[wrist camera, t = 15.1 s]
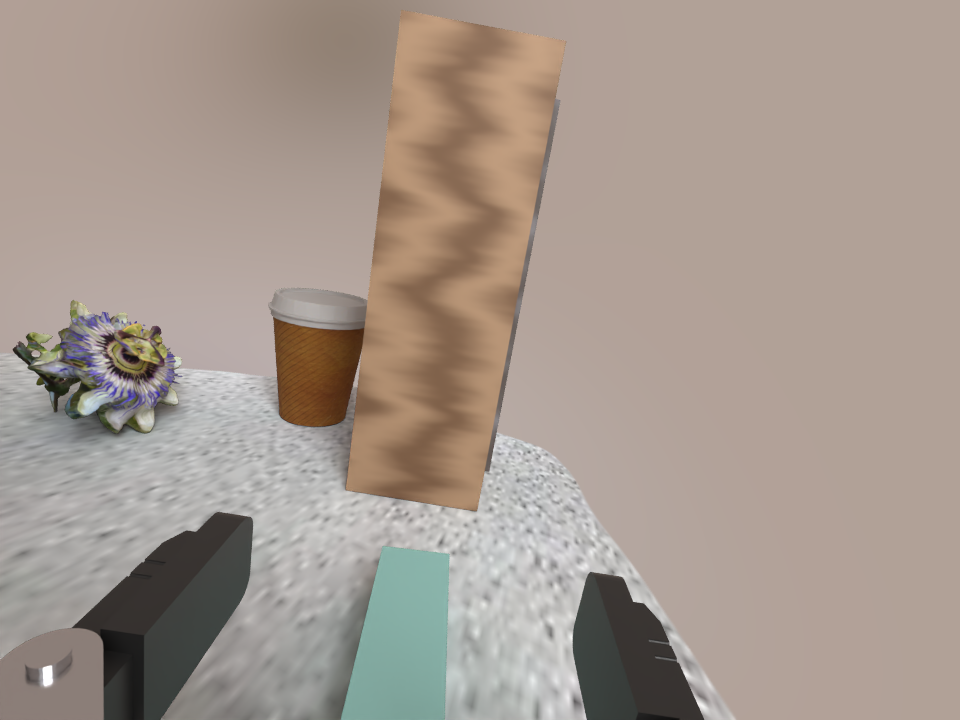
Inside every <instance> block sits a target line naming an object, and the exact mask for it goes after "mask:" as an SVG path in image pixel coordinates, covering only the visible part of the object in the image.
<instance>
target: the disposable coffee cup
mask: <svg viewBox="0 0 960 720" xmlns="http://www.w3.org/2000/svg"><path fill="white" fill-rule="evenodd" d="M367 302H368V300H366V299H363V298H360V297H357V296H354V295H349V294H345V293H339V292H333V291H328V290H318V289H307V288H283V289H279V290H276V291H275V294H274V297H273V300H272V302H270V303H269V305H268V306H269V308H270V310H271V314H272V316H273V319H274V332H275V333H274V334H275V352H276V366H277V381H278V397H279V414H280V416H281V417H282V418H283V419H284V420H286V421H288V422H290V423H293V424H297V425H302V426H312V427H319V426H329V425H333V424H337V423H339V422H341V421H342V420H344V418H345V415H346V411H347V407H348V402H349V399H350V394H351V390H352V387H353V382H354V378H355V374H356V370H357V366H358V362H359V359H360V354H361V350H362V345H363V337H364V328H365V319H366V311H367Z"/></svg>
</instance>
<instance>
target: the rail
mask: <svg viewBox="0 0 960 720" xmlns="http://www.w3.org/2000/svg"><path fill="white" fill-rule="evenodd" d="M448 586H449V554H445V553H437V552H429V551H420V550H412V549H404V548H395V547H387V546H383V547H382V552H381V556H380V560H379V564H378V568H377V572H376V576H375V580H374V585H373V589H372V593H371V597H370V601H369V605H368V609H367V613H366V617H365V622H364V626H363V630H362V634H361V638H360V642H359V646H358V650H357V655H356V659H355V663H354V667H353V671H352V675H351V679H350V683H349V688H348V692H347V696H346V700H345V704H344V708H343V712H342V716H341V720H445V689H446V655H447V620H448Z"/></svg>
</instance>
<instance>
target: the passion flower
mask: <svg viewBox="0 0 960 720" xmlns="http://www.w3.org/2000/svg"><path fill="white" fill-rule="evenodd" d="M70 315H71V320H72V322H71V323H70V327H69V328H66V329H63V330H62V331H59V333H58V334H59V336H60V338H61V343H60V344H58V345H56V346H55V348H54V349H52V350H51V351H47V350H46V349H45V348H44V347H42V346H41V345H40V343H45V342H47V341H48V340H49V339H51V338H52V337H53V336H51V335H47V334H38V333H34V332H32V333H30V334H28V335H27V336H26V338H27V340H28V346H27V347H25V345H24V344H23V343H22V342H20V341H19V342H18V344H19V345H16V347H14V348H13V351H14V353H15V354H16V355H17V356H18V357H19V358H21V359H22V360H23V361H24V362H26V363H27V364H28V365H29V366H28V367H27V368H28V369H30V370H33V371H35V372H36V373H37V374H38V375H39V376H40V378H39V379H38V380H37V383H36V384H37V385H43V384H45V388H46V390H47V391H49V394H50V400H51V403H52V407H53V409H54V412H57V406H58V398H59V397H60V396H63V395H65V394H66V393H68V392H69V389H70V386H71V385H73V384H75V383H77V382H80V381H81V384H80V387H79V389H78V391H77V392H76V393H74V394H72V395H71V397H70V398H69V400H68V402H67V404H66V406H65V412H66V414H67V415H68V416H69V417H70V418H72V419H78V418H83V417H86V416H88V415H91V414H92V413H93V412H94V411H96V412H97V415H98V416H99V418H100V421H101V422H102V423H103V425H104V426H105V427H106V428H108V429H110V430H111V431H113V432H114V433H117V434H118V433H119V431H120V430H121V429H122V427H123V425H124V424H127V425H129V426H131V427H132V428H133V429H135V430H137V431H139V432H142V433H148V432H150V431H151V429H152V428H153V426H154V421H155V420H154V408H155V406H156V405H157V402H160V403H163V404H165V405H173V406H176V405H177V404H178V403H179V401H178V398H177V393H176V392H175V391H174V390H173V389H172V388H171V387H170V385H171V384H172V382H173V383H176V384H180V383H177V382H174V381H173V380H175V378H174V376H178V374H175V373H174V370H175V369H177V368H179V367H180V365H181V364H182V359H181V358H180V357H176V356H173V354H171V352H168V351H169V349H170V348H168V349H166V347H165V346H164V345H163V344H162V338H161V337H160V334H161V329H160V328H159V327H158V326H153V327H152V328H151V330H150V331H148V330H145V329H142V326H141V325H140V324H136V323H137V321H136V322H135V323H134V324H132V325H131V322H129V323H128V319H127V314H126V313H123V312H122V313H119V314H118V315H116V316H114V317H112V318H111V319H110V318H109V317H108V313H106V312H102V315H101V316H98V315H95V314H93V313H90V312H89V311H88V310H87V309H86V305H84V304H82V303H80V302H77V301H74V300H73V301H72V302H71V310H70ZM144 326H145V325H144ZM34 350H38V351H40V353H41V355H40V357H33V356H32V355H31V353H32V351H34ZM178 377H182V376H178ZM64 378H67V379H65V380H64Z"/></svg>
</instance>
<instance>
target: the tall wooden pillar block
mask: <svg viewBox="0 0 960 720" xmlns="http://www.w3.org/2000/svg"><path fill="white" fill-rule="evenodd" d="M565 44H566V41H564V40H558V39H553V38H548V37H542V36H537V35H531V34H526V33H521V32H515V31H510V30H505V29H500V28H494V27H489V26H484V25H478V24H473V23H467V22H463V21H457V20H452V19H447V18H441V17H436V16H430V15H425V14H420V13H415V12H409V11H404V10H401V16H400V25H399V33H398V43H397V51H396V60H395V68H394V78H393V85H392V95H391V103H390V111H389V120H388V129H387V137H386V147H385V156H384V163H383V172H382V181H381V189H380V199H379V207H378V216H377V224H376V233H375V242H374V251H373V259H372V267H371V276H370V286H369V294H368V302H367V311H366V319H365V328H364V337H363V345H362V355H361V363H360V372H359V380H358V389H357V397H356V406H355V415H354V423H353V432H352V441H351V449H350V458H349V467H348V475H347V484H346V490H348V491H354V492H361V493H367V494H373V495H379V496H385V497H392V498H398V499H404V500H410V501H416V502H422V503H429V504H435V505H441V506H447V507H453V508H459V509H466V510H472V511H477V508H478V503H479V498H480V493H481V487H482V482H483V477H484V472H485V471H489V469H490V464H491V459H492V453H493V448H494V443H495V438H496V433H497V427H498V422H499V417H500V412H501V407H502V401H503V396H504V390H505V385H506V380H507V375H508V370H509V365H510V359H511V355H512V349H513V344H514V339H515V334H516V328H517V323H518V318H519V313H520V307H521V302H522V297H523V292H524V287H525V281H526V276H527V271H528V265H529V261H530V256H531V250H532V245H533V240H534V234H535V229H536V224H537V219H538V214H539V209H540V204H541V198H542V193H543V188H544V183H545V177H546V172H547V167H548V162H549V157H550V152H551V146H552V141H553V136H554V130H555V125H556V120H557V115H558V110H559V105H560V100H557V99H555V97H556V92H557V87H558V82H559V76H560V71H561V65H562V61H563V55H564V50H565Z"/></svg>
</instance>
